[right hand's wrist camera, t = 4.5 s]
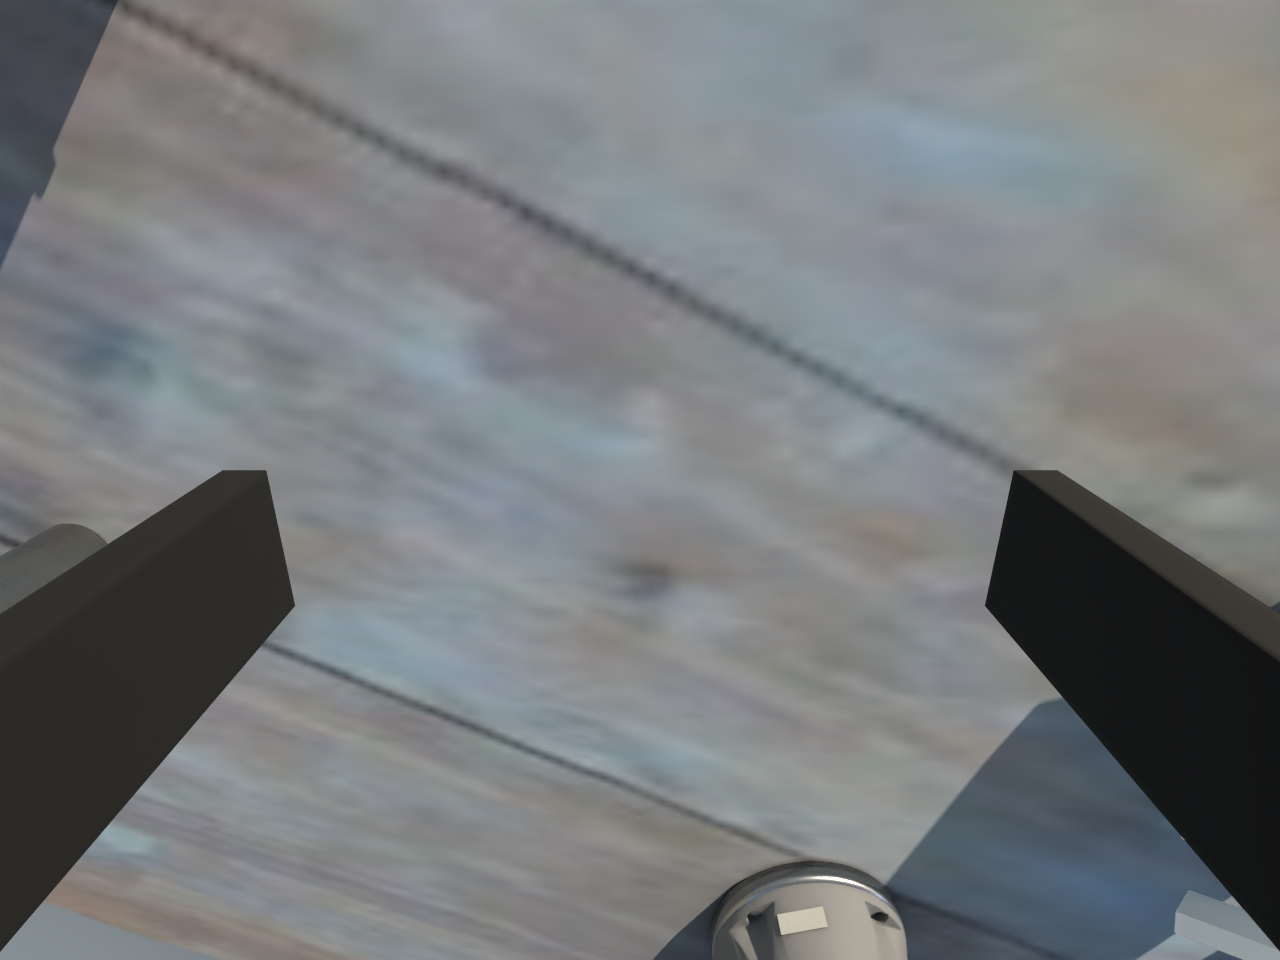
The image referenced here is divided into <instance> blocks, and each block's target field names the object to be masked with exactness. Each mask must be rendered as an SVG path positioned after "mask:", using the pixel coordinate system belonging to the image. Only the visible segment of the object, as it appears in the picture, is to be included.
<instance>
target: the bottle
mask: <svg viewBox="0 0 1280 960" xmlns="http://www.w3.org/2000/svg"><path fill="white" fill-rule="evenodd" d="M106 545H107V543H106V542H105V541H104V540H103V539H102V538H101V537H100V536H99V535H97V534H96V533H95V532H93V531H91V530H89V529H87V528H85V527H83V526H79V525H75V524H60V525H56V526H54V527H52V528H50V529H48V530H46V531H44V532H43V533H41V534H39V535H37V536H35V537H34V538H32V539H30V540H28V541H26V542H25V543H23V544H21V545H19V546H17V547H16V548H14V549H12V550H10V551H8V552H7V553H5V554H3V555H1V556H0V614H1V613H2V612H4V611H5V610H7V609H9V608H10V607H12V606H13V605H15V604H16V603H18V602H19V601H21V600H23V599H24V598H26V597H27V596H29V595H30V594H32V593H33V592H35V591H36V590H38V589H40V588H41V587H43V586H44V585H46V584H47V583H49V582H50V581H52V580H54V579H55V578H57V577H58V576H60V575H61V574H63V573H64V572H66V571H67V570H69V569H71V568H72V567H74V566H75V565H77V564H78V563H80V562H81V561H83V560H85V559H86V558H88V557H89V556H91V555H92V554H94V553H95V552H97V551H98V550H100V549H102V548H103V547H105V546H106Z"/></svg>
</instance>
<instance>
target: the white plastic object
mask: <svg viewBox="0 0 1280 960" xmlns="http://www.w3.org/2000/svg"><path fill="white" fill-rule="evenodd" d="M1180 838H1182V839H1183V837H1182V836H1181V837H1180ZM1183 840H1184V839H1183ZM1174 933H1176V934H1179V935H1181V936H1184V937H1186V938H1189V939H1191V940H1194V941H1196V942H1199V943H1201V944H1204V945H1206V946H1209V947H1212V948H1214V949H1217V950H1219V951H1222V952H1224V953H1227V954H1229V955H1232V956H1234V957H1237V958H1240V959H1242V960H1280V951H1279V950H1278V949H1277V948H1276V947H1275V945H1274V944H1273V943H1272V942H1271V941H1270V940H1269V938H1268V937H1267V936H1266V935H1265V934H1264V932H1263V931H1262V930H1261V929H1260V928H1259V927H1258V925H1257V924H1256V923H1255V922H1254V921H1253V920H1252V918H1251V917H1250V916H1249V915H1248V914H1247V913H1246V911H1245V910H1244V909H1242V908H1239V907H1236V906H1233V905H1230V904H1228V903H1225V902H1222V901H1219V900H1216V899H1214V898H1211V897H1208V896H1205V895H1202V894H1199V893H1197V892H1194V891H1191V890H1188V891H1187V893H1186V895H1185V896H1184V898H1183V900H1182V902H1181V903H1180V905H1179V907H1178V908H1177V910H1176V913H1175V929H1174Z"/></svg>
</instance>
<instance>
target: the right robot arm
mask: <svg viewBox="0 0 1280 960" xmlns="http://www.w3.org/2000/svg"><path fill="white" fill-rule="evenodd" d="M294 606H295V603H294V599H293V594H292V589H291V585H290V580H289V575H288V571H287V566H286V561H285V556H284V552H283V547H282V542H281V538H280V533H279V528H278V524H277V519H276V514H275V510H274V505H273V500H272V495H271V491H270V486H269V481H268V477H267V472H266V470H222V471H221V472H219V473H218V474H216V475H215V476H213V477H212V478H210V479H209V480H207V481H205V482H204V483H202V484H201V485H199V486H198V487H196V488H195V489H193V490H191V491H190V492H188V493H187V494H185V495H184V496H182V497H181V498H179V499H178V500H176V501H174V502H173V503H171V504H170V505H168V506H167V507H165V508H164V509H162V510H160V511H159V512H157V513H156V514H154V515H153V516H151V517H150V518H148V519H147V520H145V521H143V522H142V523H140V524H139V525H137V526H136V527H134V528H133V529H131V530H129V531H128V532H126V533H125V534H123V535H122V536H120V537H119V538H117V539H116V540H114V541H112V542H111V543H109V544H108V545H106V546H105V547H103V548H102V549H100V550H98V551H97V552H95V553H94V554H92V555H91V556H89V557H88V558H86V559H85V560H83V561H81V562H80V563H78V564H77V565H75V566H74V567H72V568H71V569H69V570H67V571H66V572H64V573H63V574H61V575H60V576H58V577H57V578H55V579H54V580H52V581H50V582H49V583H47V584H46V585H44V586H43V587H41V588H40V589H38V590H36V591H35V592H33V593H32V594H30V595H29V596H27V597H26V598H24V599H23V600H21V601H19V602H18V603H16V604H15V605H13V606H12V607H10V608H9V609H7V610H5V611H4V612H2V613H1V614H0V951H1V950H2V949H3V948H4V947H5V945H6V944H7V943H8V942H9V941H10V939H11V938H12V937H13V936H14V935H15V934H16V932H17V931H18V930H19V929H20V928H21V927H22V925H23V924H24V923H25V922H26V921H27V920H28V918H29V917H30V916H31V915H32V914H33V912H34V911H35V910H36V909H37V908H38V907H39V905H40V904H41V903H42V902H43V901H44V900H45V898H46V897H47V896H48V895H49V894H50V893H51V891H52V890H53V889H54V888H55V887H56V886H57V884H58V883H59V882H60V881H61V880H62V879H63V877H64V876H65V875H66V874H67V873H68V871H69V870H70V869H71V868H72V867H73V866H74V864H75V863H76V862H77V861H78V860H79V859H80V857H81V856H82V855H83V854H84V853H85V852H86V850H87V849H88V848H89V847H90V846H91V844H92V843H93V842H94V841H95V840H96V839H97V837H98V836H99V835H100V834H101V833H102V832H103V830H104V829H105V828H106V827H107V826H108V825H109V823H110V822H111V821H112V820H113V819H114V818H115V816H116V815H117V814H118V813H119V812H120V810H121V809H122V808H123V807H124V806H125V805H126V803H127V802H128V801H129V800H130V799H131V798H132V796H133V795H134V794H135V793H136V792H137V791H138V789H139V788H140V787H141V786H142V785H143V783H144V782H145V781H146V780H147V779H148V778H149V776H150V775H151V774H152V773H153V772H154V771H155V769H156V768H157V767H158V766H159V765H160V764H161V762H162V761H163V760H164V759H165V758H166V757H167V755H168V754H169V753H170V752H171V751H172V749H173V748H174V747H175V746H176V745H177V744H178V742H179V741H180V740H181V739H182V738H183V737H184V735H185V734H186V733H187V732H188V731H189V730H190V728H191V727H192V726H193V725H194V724H195V722H196V721H197V720H198V719H199V718H200V717H201V715H202V714H203V713H204V712H205V711H206V710H207V708H208V707H209V706H210V705H211V704H212V703H213V701H214V700H215V699H216V698H217V697H218V696H219V694H220V693H221V692H222V691H223V690H224V688H225V687H226V686H227V685H228V684H229V683H230V681H231V680H232V679H233V678H234V677H235V676H236V674H237V673H238V672H239V671H240V670H241V669H242V667H243V666H244V665H245V664H246V663H247V661H248V660H249V659H250V658H251V657H252V656H253V654H254V653H255V652H256V651H257V650H258V649H259V647H260V646H261V645H262V644H263V643H264V642H265V640H266V639H267V638H268V637H269V636H270V635H271V633H272V632H273V631H274V630H275V629H276V627H277V626H278V625H279V624H280V623H281V622H282V620H283V619H284V618H285V617H286V616H287V615H288V613H289V612H290V611H291V610H292V609H293V608H294ZM985 606H986V608H987V609H988V610H989V611H990V612H991V613H992V615H993V616H994V617H995V618H996V619H997V620H998V622H999V623H1000V624H1001V625H1002V626H1003V627H1004V629H1005V630H1006V631H1007V632H1008V633H1009V635H1010V636H1011V637H1012V638H1013V639H1014V640H1015V642H1016V643H1017V644H1018V645H1019V646H1020V647H1021V649H1022V650H1023V651H1024V652H1025V653H1026V654H1027V656H1028V657H1029V658H1030V659H1031V660H1032V661H1033V663H1034V664H1035V665H1036V666H1037V667H1038V669H1039V670H1040V671H1041V672H1042V673H1043V674H1044V676H1045V677H1046V678H1047V679H1048V680H1049V681H1050V683H1051V684H1052V685H1053V686H1054V687H1055V688H1056V690H1057V691H1058V692H1059V693H1060V694H1061V696H1062V697H1063V698H1064V699H1065V700H1066V701H1067V703H1068V704H1069V705H1070V706H1071V707H1072V708H1073V710H1074V711H1075V712H1076V713H1077V714H1078V715H1079V717H1080V718H1081V719H1082V720H1083V721H1084V722H1085V724H1086V725H1087V726H1088V727H1089V728H1090V730H1091V731H1092V732H1093V733H1094V734H1095V735H1096V737H1097V738H1098V739H1099V740H1100V741H1101V742H1102V744H1103V745H1104V746H1105V747H1106V748H1107V749H1108V751H1109V752H1110V753H1111V754H1112V755H1113V757H1114V758H1115V759H1116V760H1117V761H1118V762H1119V764H1120V765H1121V766H1122V767H1123V768H1124V769H1125V771H1126V772H1127V773H1128V774H1129V775H1130V776H1131V778H1132V779H1133V780H1134V781H1135V782H1136V783H1137V785H1138V786H1139V787H1140V788H1141V789H1142V791H1143V792H1144V793H1145V794H1146V795H1147V796H1148V798H1149V799H1150V800H1151V801H1152V802H1153V803H1154V805H1155V806H1156V807H1157V808H1158V809H1159V810H1160V812H1161V813H1162V814H1163V815H1164V816H1165V818H1166V819H1167V820H1168V821H1169V822H1170V823H1171V825H1172V826H1173V827H1174V828H1175V829H1176V830H1177V832H1178V833H1179V834H1180V835H1181V836H1182V837H1183V839H1184V840H1185V841H1186V842H1187V843H1188V844H1189V846H1190V847H1191V848H1192V849H1193V850H1194V852H1195V853H1196V854H1197V855H1198V856H1199V857H1200V859H1201V860H1202V861H1203V862H1204V863H1205V864H1206V866H1207V867H1208V868H1209V869H1210V870H1211V871H1212V873H1213V874H1214V875H1215V876H1216V877H1217V879H1218V880H1219V881H1220V882H1221V883H1222V884H1223V886H1224V887H1225V888H1226V889H1227V890H1228V891H1229V893H1230V894H1231V895H1232V896H1233V897H1234V898H1235V900H1236V901H1237V902H1238V903H1239V904H1240V905H1241V907H1242V908H1243V909H1244V910H1245V911H1246V913H1247V914H1248V915H1249V916H1250V917H1251V918H1252V920H1253V921H1254V922H1255V923H1256V924H1257V925H1258V927H1259V928H1260V929H1261V930H1262V931H1263V932H1264V934H1265V935H1266V936H1267V937H1268V938H1269V940H1270V941H1271V942H1272V943H1273V944H1274V945H1275V947H1276V948H1277V949H1278V950H1279V951H1280V614H1279V613H1278V612H1276V611H1275V610H1273V609H1271V608H1270V607H1268V606H1267V605H1265V604H1264V603H1262V602H1261V601H1259V600H1257V599H1256V598H1254V597H1253V596H1251V595H1250V594H1248V593H1247V592H1245V591H1244V590H1242V589H1240V588H1239V587H1237V586H1236V585H1234V584H1233V583H1231V582H1230V581H1228V580H1226V579H1225V578H1223V577H1222V576H1220V575H1219V574H1217V573H1216V572H1214V571H1213V570H1211V569H1209V568H1208V567H1206V566H1205V565H1203V564H1202V563H1200V562H1199V561H1197V560H1195V559H1194V558H1192V557H1191V556H1189V555H1188V554H1186V553H1185V552H1183V551H1182V550H1180V549H1178V548H1177V547H1175V546H1174V545H1172V544H1171V543H1169V542H1168V541H1166V540H1164V539H1163V538H1161V537H1160V536H1158V535H1157V534H1155V533H1154V532H1152V531H1151V530H1149V529H1147V528H1146V527H1144V526H1143V525H1141V524H1140V523H1138V522H1137V521H1135V520H1133V519H1132V518H1130V517H1129V516H1127V515H1126V514H1124V513H1123V512H1121V511H1120V510H1118V509H1116V508H1115V507H1113V506H1112V505H1110V504H1109V503H1107V502H1106V501H1104V500H1102V499H1101V498H1099V497H1098V496H1096V495H1095V494H1093V493H1092V492H1090V491H1089V490H1087V489H1085V488H1084V487H1082V486H1081V485H1079V484H1078V483H1076V482H1075V481H1073V480H1071V479H1070V478H1068V477H1067V476H1065V475H1064V474H1062V473H1061V472H1059V471H1058V470H1014V472H1013V477H1012V481H1011V486H1010V491H1009V495H1008V500H1007V505H1006V510H1005V514H1004V519H1003V524H1002V528H1001V533H1000V538H999V542H998V547H997V552H996V556H995V561H994V566H993V571H992V575H991V580H990V585H989V589H988V594H987V599H986V603H985ZM710 935H711V946H712V957H713V960H907V936H906V931H905V927H904V924H903V922H902V919H901V916H900V913H899V911H898V908H897V905H896V903H895V901H894V899H893V897H892V896H891V894H890V892H889V891H888V890H887V889H886V888H885V887H884V886H883V885H882V884H881V883H880V882H879V881H877V880H876V879H875V878H873V877H872V876H870V875H868V874H866V873H864V872H862V871H860V870H858V869H855V868H852V867H849V866H846V865H842V864H837V863H831V862H820V861H806V862H795V863H789V864H783V865H779V866H775V867H772V868H769V869H766V870H764V871H761V872H759V873H757V874H755V875H753V876H751V877H749V878H747V879H746V880H744V881H742V882H741V883H739V884H738V885H737V886H735V887H734V888H733V889H732V890H731V891H730V892H729V893H728V894H727V895H726V896H725V897H724V898H723V899H722V901H721V902H720V904H719V905H718V907H717V909H716V910H715V913H714V915H713V918H712V922H711V929H710Z"/></svg>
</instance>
